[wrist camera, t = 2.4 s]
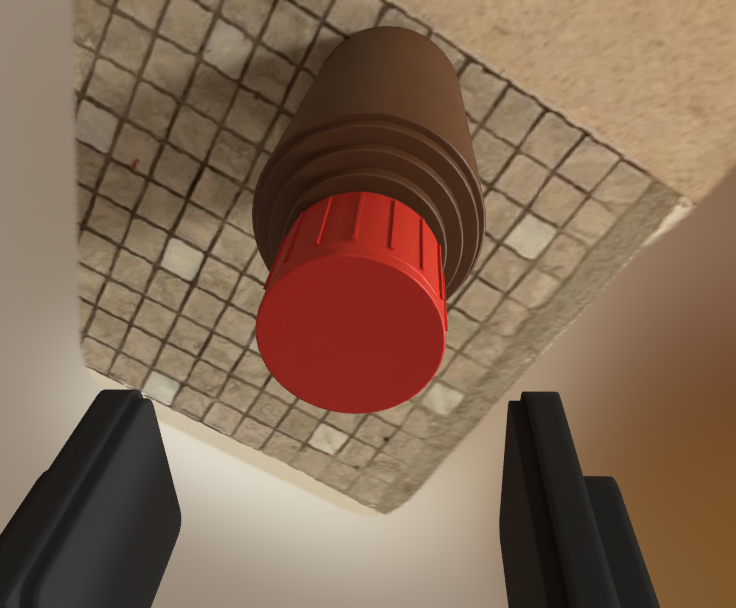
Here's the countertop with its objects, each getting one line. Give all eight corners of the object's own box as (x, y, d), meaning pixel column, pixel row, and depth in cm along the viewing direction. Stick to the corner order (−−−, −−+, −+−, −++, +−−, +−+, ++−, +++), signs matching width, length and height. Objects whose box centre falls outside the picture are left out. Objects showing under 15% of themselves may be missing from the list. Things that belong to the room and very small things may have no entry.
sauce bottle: (287, 119, 30) (149, 349, 15) (370, -8, 27) (306, 113, 12) (401, 200, 32) (384, 482, 16) (491, 88, 29) (573, 303, 14)
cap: (252, 278, 17) (219, 354, 14) (340, 156, 15) (322, 215, 12) (379, 357, 18) (372, 443, 15) (476, 251, 16) (488, 326, 13)
